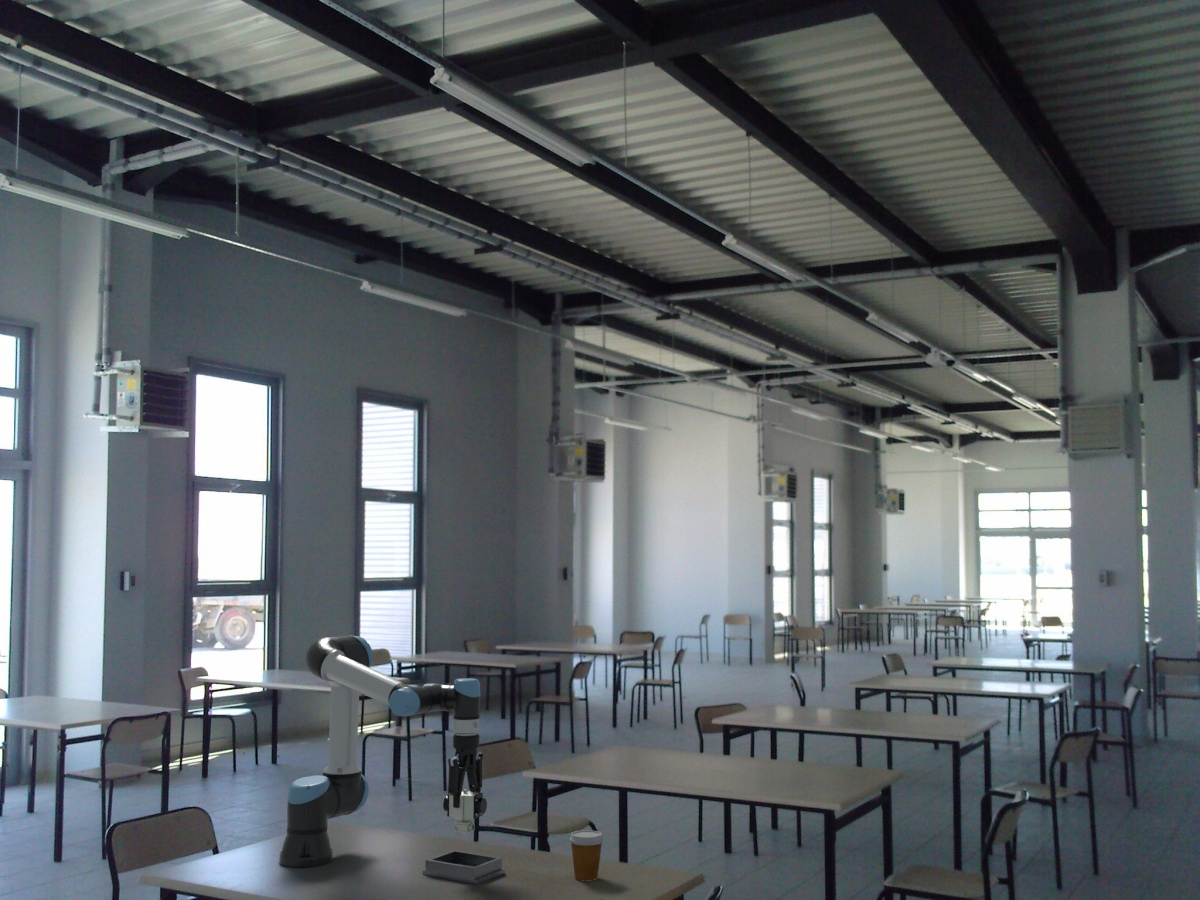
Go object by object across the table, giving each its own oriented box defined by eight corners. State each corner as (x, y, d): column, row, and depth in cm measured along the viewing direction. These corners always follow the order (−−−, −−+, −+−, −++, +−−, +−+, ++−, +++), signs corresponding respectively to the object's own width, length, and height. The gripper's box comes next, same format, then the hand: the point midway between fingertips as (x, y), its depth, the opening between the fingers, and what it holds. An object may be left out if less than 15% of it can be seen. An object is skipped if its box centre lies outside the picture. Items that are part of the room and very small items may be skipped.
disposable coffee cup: (596, 884, 292) (596, 839, 294) (564, 881, 295) (564, 836, 297) (608, 875, 301) (608, 831, 302) (576, 872, 304) (576, 828, 306)
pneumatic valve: (479, 836, 299) (480, 792, 300) (442, 833, 303) (443, 789, 304) (488, 832, 304) (488, 788, 305) (451, 828, 308) (452, 786, 309)
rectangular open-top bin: (422, 874, 301) (422, 859, 302) (451, 863, 312) (451, 849, 313) (477, 884, 292) (477, 869, 292) (504, 873, 303) (504, 858, 303)
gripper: (456, 738, 297) (455, 825, 294) (496, 730, 313) (494, 812, 310) (435, 736, 301) (433, 822, 298) (475, 728, 317) (473, 809, 314)
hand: (464, 817), depth 304 cm, fingers closed on pneumatic valve, 6 cm apart
